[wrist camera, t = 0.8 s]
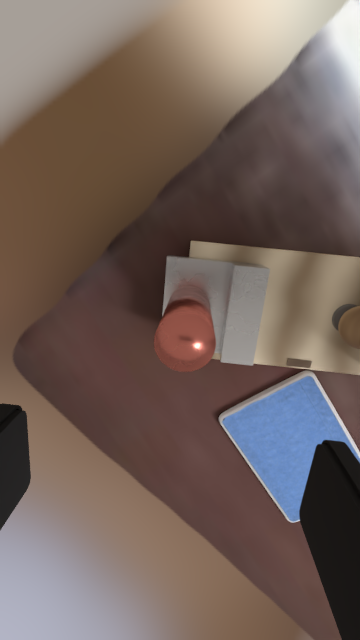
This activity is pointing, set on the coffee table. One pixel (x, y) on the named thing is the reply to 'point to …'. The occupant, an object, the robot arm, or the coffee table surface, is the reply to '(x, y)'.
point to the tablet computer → (285, 435)
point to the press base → (302, 306)
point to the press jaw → (210, 312)
